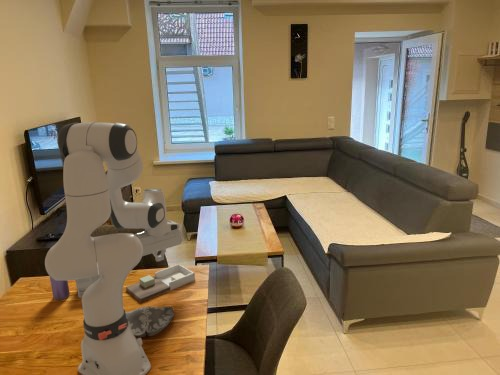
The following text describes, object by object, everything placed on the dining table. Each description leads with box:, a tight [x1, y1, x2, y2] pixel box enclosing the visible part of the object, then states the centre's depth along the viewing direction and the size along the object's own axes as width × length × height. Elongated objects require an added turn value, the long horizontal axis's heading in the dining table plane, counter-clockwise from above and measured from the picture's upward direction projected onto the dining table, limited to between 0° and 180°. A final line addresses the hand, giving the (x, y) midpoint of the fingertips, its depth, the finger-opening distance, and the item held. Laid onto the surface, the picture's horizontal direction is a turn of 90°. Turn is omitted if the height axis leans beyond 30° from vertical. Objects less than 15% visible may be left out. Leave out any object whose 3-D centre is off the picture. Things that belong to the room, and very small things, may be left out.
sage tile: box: [138, 274, 155, 288], centre depth 155 cm, size 4×4×2 cm
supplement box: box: [75, 264, 101, 299], centre depth 156 cm, size 17×13×9 cm
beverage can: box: [48, 274, 70, 301], centre depth 149 cm, size 6×6×15 cm
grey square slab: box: [125, 276, 171, 303], centre depth 153 cm, size 13×13×2 cm
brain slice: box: [125, 305, 175, 338], centre depth 129 cm, size 20×17×3 cm
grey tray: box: [154, 263, 196, 291], centre depth 161 cm, size 12×12×4 cm
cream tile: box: [171, 273, 185, 281], centre depth 159 cm, size 4×4×2 cm
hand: (159, 260), depth 152 cm, fingers closed
